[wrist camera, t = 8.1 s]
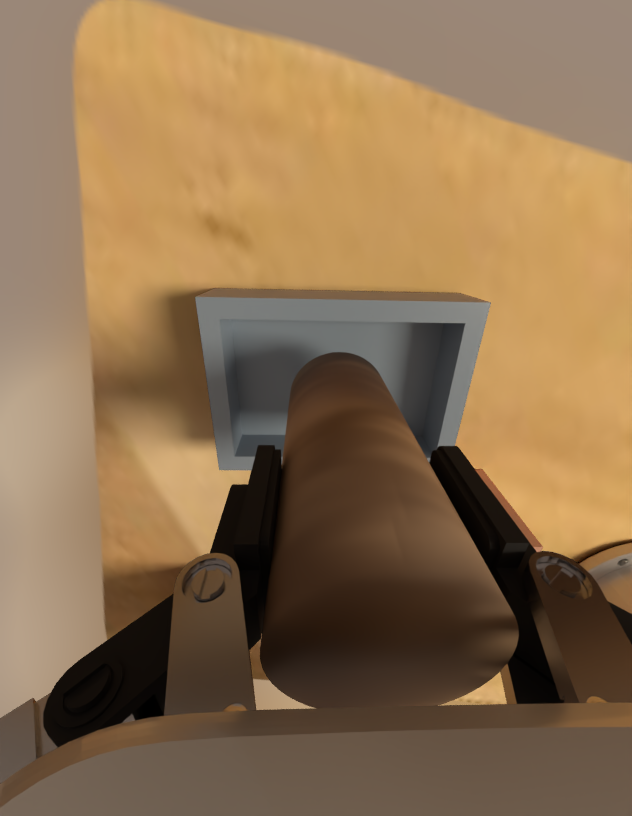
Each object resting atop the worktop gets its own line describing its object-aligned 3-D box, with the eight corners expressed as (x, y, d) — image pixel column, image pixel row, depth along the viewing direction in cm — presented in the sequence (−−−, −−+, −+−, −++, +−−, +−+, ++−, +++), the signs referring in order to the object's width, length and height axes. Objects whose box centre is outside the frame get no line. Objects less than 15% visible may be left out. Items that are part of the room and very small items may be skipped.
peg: (390, 352, 16) (558, 570, 5) (379, 438, 18) (481, 713, 8) (289, 351, 16) (251, 572, 5) (290, 437, 18) (266, 717, 7)
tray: (460, 292, 19) (490, 302, 15) (429, 440, 23) (448, 471, 20) (214, 288, 18) (195, 296, 15) (231, 439, 23) (219, 470, 20)
